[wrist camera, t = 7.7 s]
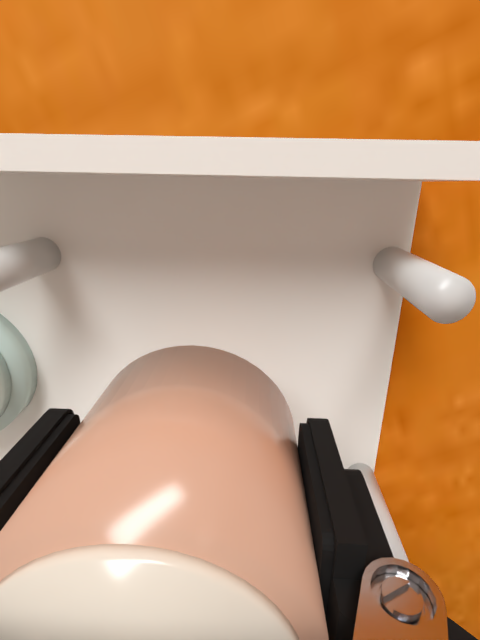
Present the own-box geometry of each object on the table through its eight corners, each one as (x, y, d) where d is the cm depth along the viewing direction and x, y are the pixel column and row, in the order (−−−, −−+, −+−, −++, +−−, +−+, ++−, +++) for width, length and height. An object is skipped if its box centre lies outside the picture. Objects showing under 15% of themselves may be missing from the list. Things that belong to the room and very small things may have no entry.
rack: (411, 157, 13) (512, 139, 8) (356, 516, 19) (395, 648, 13) (-174, 146, 14) (-432, 124, 9) (-67, 495, 19) (-188, 610, 14)
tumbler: (301, 349, 11) (358, 548, 5) (288, 518, 13) (317, 809, 7) (86, 341, 11) (-115, 526, 5) (106, 510, 13) (-22, 787, 7)
